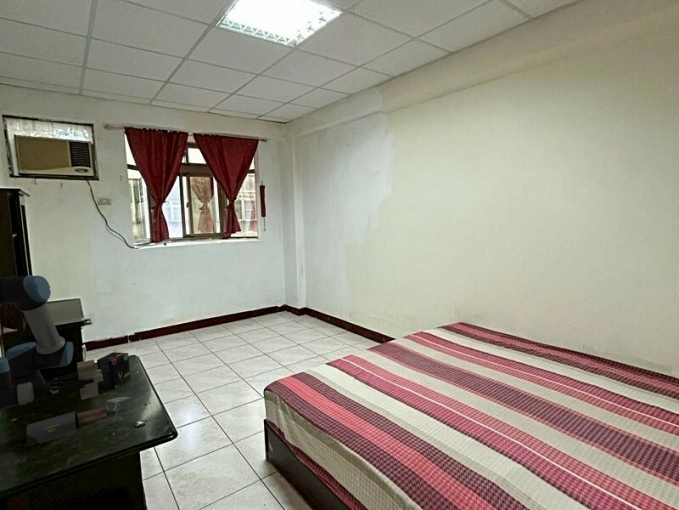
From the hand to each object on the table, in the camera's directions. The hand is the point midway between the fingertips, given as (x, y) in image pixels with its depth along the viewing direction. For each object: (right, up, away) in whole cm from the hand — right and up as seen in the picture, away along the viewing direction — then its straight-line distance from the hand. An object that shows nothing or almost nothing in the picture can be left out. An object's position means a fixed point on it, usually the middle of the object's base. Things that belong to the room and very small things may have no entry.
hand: (101, 374), depth 162 cm
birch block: (-4, -8, -2) cm, 9 cm away
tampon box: (-12, -14, +30) cm, 36 cm away
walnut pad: (-4, -18, -1) cm, 18 cm away
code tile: (-15, -19, -9) cm, 26 cm away
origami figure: (+6, -17, +5) cm, 19 cm away
